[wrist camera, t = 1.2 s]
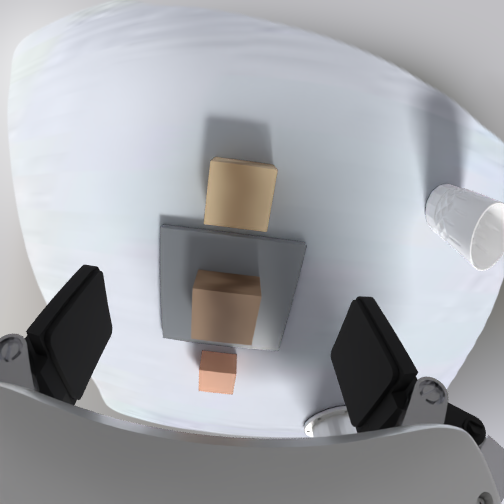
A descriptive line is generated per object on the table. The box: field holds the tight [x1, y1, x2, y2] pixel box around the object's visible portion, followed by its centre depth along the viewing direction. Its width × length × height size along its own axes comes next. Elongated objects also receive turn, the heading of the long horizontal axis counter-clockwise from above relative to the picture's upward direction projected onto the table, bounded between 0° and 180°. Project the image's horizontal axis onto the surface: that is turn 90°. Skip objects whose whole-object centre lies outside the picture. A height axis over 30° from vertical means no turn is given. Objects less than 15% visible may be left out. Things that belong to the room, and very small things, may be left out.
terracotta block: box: [199, 350, 237, 394], centre depth 37 cm, size 5×5×4 cm
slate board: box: [160, 225, 307, 351], centre depth 33 cm, size 16×16×1 cm
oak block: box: [204, 157, 278, 232], centre depth 27 cm, size 6×6×4 cm
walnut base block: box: [191, 269, 262, 345], centre depth 31 cm, size 7×7×4 cm
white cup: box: [425, 184, 504, 271], centre depth 25 cm, size 8×8×10 cm
